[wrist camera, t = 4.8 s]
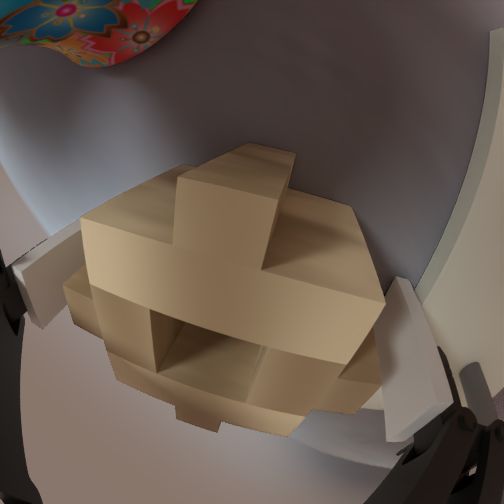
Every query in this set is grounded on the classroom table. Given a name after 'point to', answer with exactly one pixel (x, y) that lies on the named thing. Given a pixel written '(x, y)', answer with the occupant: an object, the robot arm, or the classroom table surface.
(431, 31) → the classroom table surface
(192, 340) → the gear
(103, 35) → the mug
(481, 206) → the gear board
